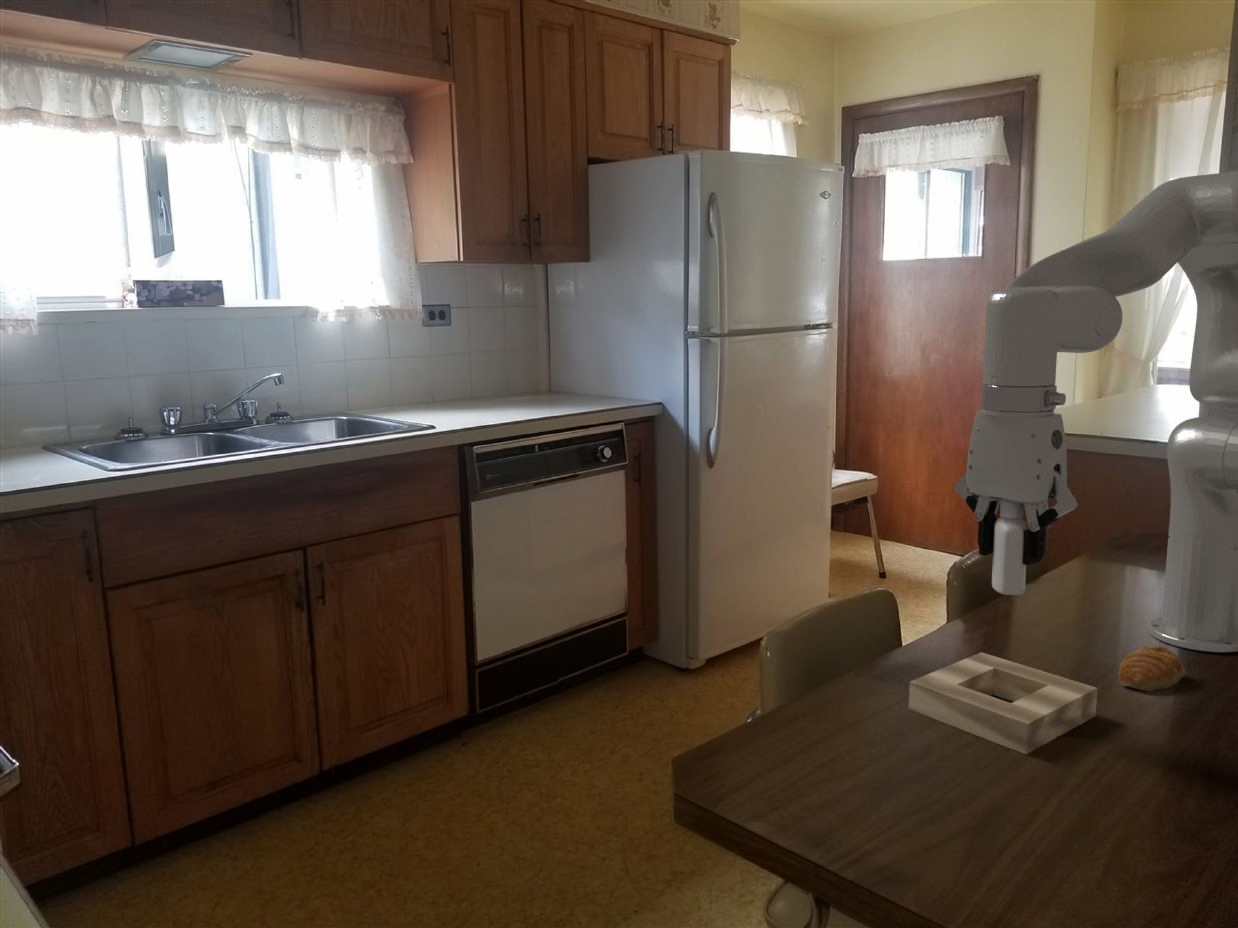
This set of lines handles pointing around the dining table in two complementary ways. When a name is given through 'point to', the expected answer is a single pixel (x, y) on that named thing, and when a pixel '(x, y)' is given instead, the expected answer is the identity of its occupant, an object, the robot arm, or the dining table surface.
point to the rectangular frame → (1021, 725)
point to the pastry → (1151, 669)
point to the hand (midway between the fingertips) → (1010, 556)
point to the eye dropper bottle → (1009, 550)
